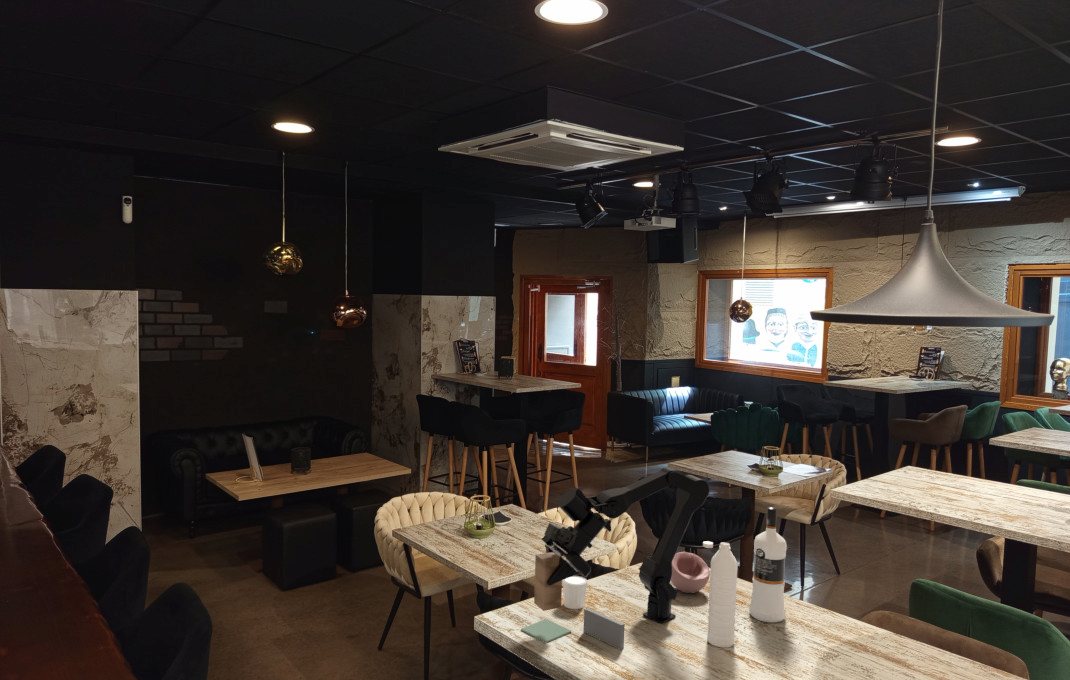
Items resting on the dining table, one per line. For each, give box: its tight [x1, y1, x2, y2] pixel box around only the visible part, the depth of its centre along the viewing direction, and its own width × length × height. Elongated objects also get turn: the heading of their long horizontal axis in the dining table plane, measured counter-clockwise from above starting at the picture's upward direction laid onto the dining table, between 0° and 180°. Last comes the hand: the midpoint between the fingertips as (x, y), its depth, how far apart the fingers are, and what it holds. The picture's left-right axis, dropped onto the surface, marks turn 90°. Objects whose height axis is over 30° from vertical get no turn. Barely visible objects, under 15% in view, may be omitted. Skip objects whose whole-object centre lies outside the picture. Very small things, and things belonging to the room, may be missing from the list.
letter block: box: [533, 552, 563, 612], centre depth 179 cm, size 5×5×12 cm
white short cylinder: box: [562, 575, 588, 610], centre depth 196 cm, size 7×7×7 cm
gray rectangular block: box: [583, 607, 626, 650], centre depth 176 cm, size 1×12×6 cm, turn 44°
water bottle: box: [702, 540, 739, 648], centre depth 176 cm, size 9×6×25 cm
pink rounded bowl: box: [670, 551, 711, 594], centre depth 208 cm, size 12×12×11 cm
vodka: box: [748, 506, 788, 624], centre depth 192 cm, size 9×9×30 cm
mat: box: [520, 618, 572, 643], centre depth 179 cm, size 9×9×1 cm
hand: (543, 580), depth 178 cm, fingers closed on letter block, 5 cm apart
